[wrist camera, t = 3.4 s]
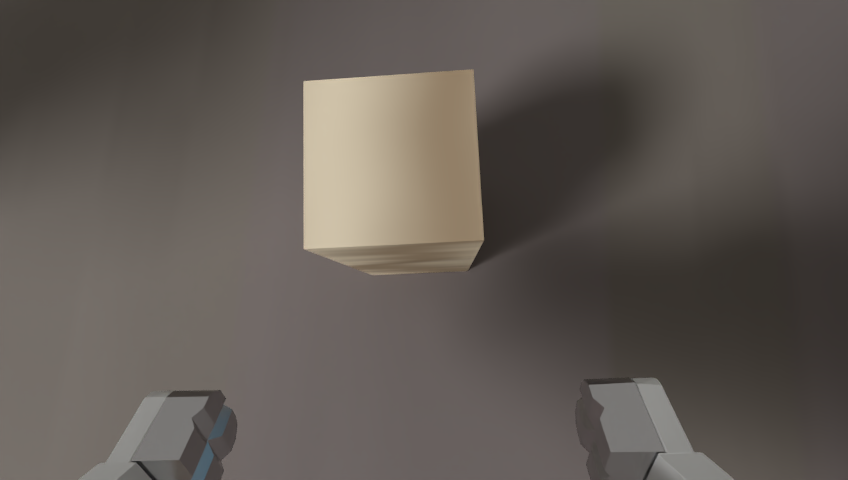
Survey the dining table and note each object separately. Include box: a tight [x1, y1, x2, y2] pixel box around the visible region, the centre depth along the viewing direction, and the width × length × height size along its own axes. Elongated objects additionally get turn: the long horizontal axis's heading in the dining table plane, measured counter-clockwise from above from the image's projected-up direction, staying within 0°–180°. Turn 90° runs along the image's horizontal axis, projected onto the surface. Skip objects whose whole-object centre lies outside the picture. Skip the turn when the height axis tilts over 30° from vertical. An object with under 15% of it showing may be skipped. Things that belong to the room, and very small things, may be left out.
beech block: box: [303, 69, 484, 275], centre depth 16 cm, size 4×4×10 cm
